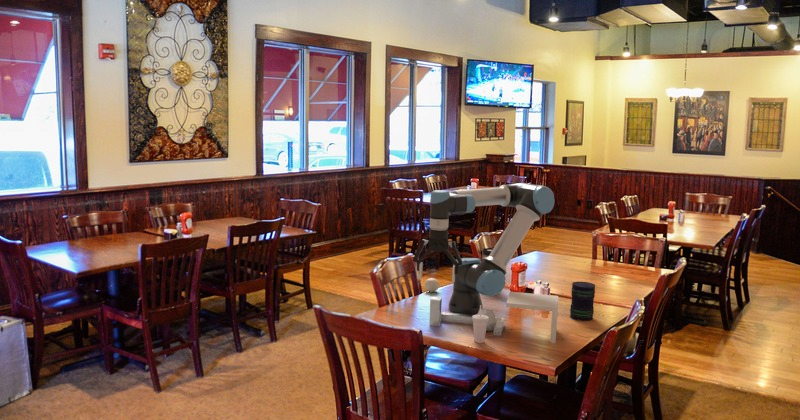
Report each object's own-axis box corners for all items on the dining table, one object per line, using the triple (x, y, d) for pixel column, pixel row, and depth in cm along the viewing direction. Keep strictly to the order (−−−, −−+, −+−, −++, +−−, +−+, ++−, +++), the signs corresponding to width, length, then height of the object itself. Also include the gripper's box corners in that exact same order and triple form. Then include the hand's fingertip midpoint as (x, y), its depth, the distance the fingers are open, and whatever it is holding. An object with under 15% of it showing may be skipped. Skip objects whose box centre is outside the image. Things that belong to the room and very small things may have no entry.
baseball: (441, 291, 333) (442, 278, 332) (431, 294, 328) (432, 280, 327) (431, 289, 338) (432, 275, 337) (421, 291, 333) (421, 278, 332)
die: (488, 336, 270) (502, 315, 272) (469, 323, 272) (483, 302, 273) (487, 337, 279) (501, 317, 280) (469, 324, 280) (482, 304, 282)
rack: (504, 337, 267) (506, 303, 265) (508, 324, 284) (509, 291, 282) (555, 343, 263) (557, 307, 261) (556, 329, 280) (558, 295, 278)
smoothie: (486, 338, 266) (487, 303, 264) (488, 344, 259) (490, 308, 257) (469, 338, 265) (471, 303, 263) (472, 343, 259) (473, 308, 257)
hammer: (427, 328, 276) (428, 301, 275) (434, 318, 290) (435, 293, 288) (501, 335, 270) (502, 308, 268) (504, 325, 283) (505, 299, 282)
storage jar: (566, 314, 302) (568, 281, 299) (588, 314, 302) (590, 281, 300) (573, 321, 292) (576, 287, 290) (596, 321, 292) (598, 287, 290)
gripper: (406, 228, 275) (405, 279, 278) (468, 232, 269) (466, 284, 272) (410, 225, 282) (409, 275, 285) (470, 229, 276) (468, 280, 279)
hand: (436, 280), depth 279 cm, fingers open, 13 cm apart
